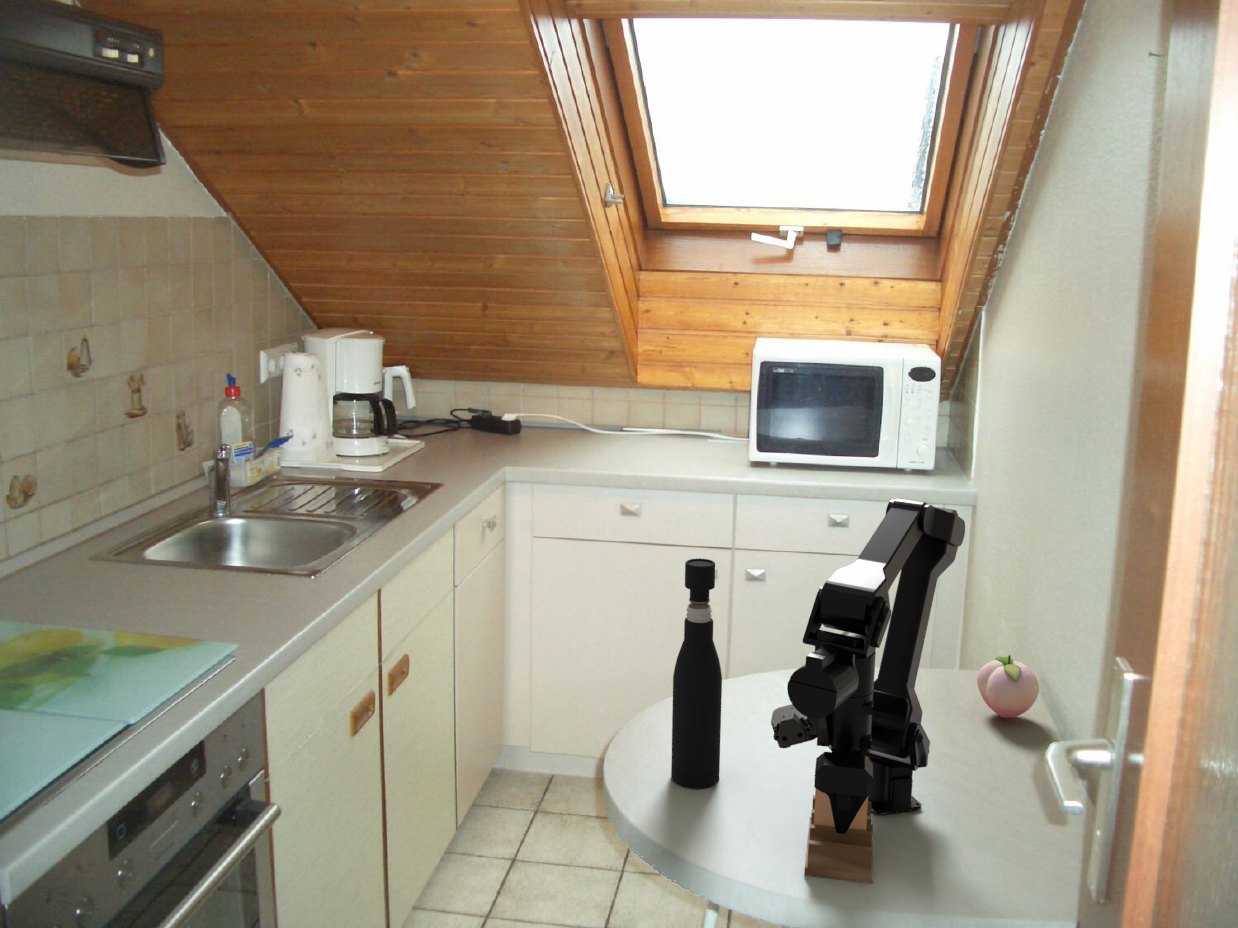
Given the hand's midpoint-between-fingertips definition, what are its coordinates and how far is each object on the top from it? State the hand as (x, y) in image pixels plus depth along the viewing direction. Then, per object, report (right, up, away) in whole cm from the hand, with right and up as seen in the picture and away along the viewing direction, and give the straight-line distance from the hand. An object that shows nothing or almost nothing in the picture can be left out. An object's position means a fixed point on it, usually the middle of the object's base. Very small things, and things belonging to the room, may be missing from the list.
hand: (841, 812), depth 133 cm
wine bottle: (-16, -1, +19) cm, 25 cm away
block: (0, -4, +1) cm, 4 cm away
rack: (0, -5, +1) cm, 5 cm away
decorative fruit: (+33, +2, +39) cm, 51 cm away
